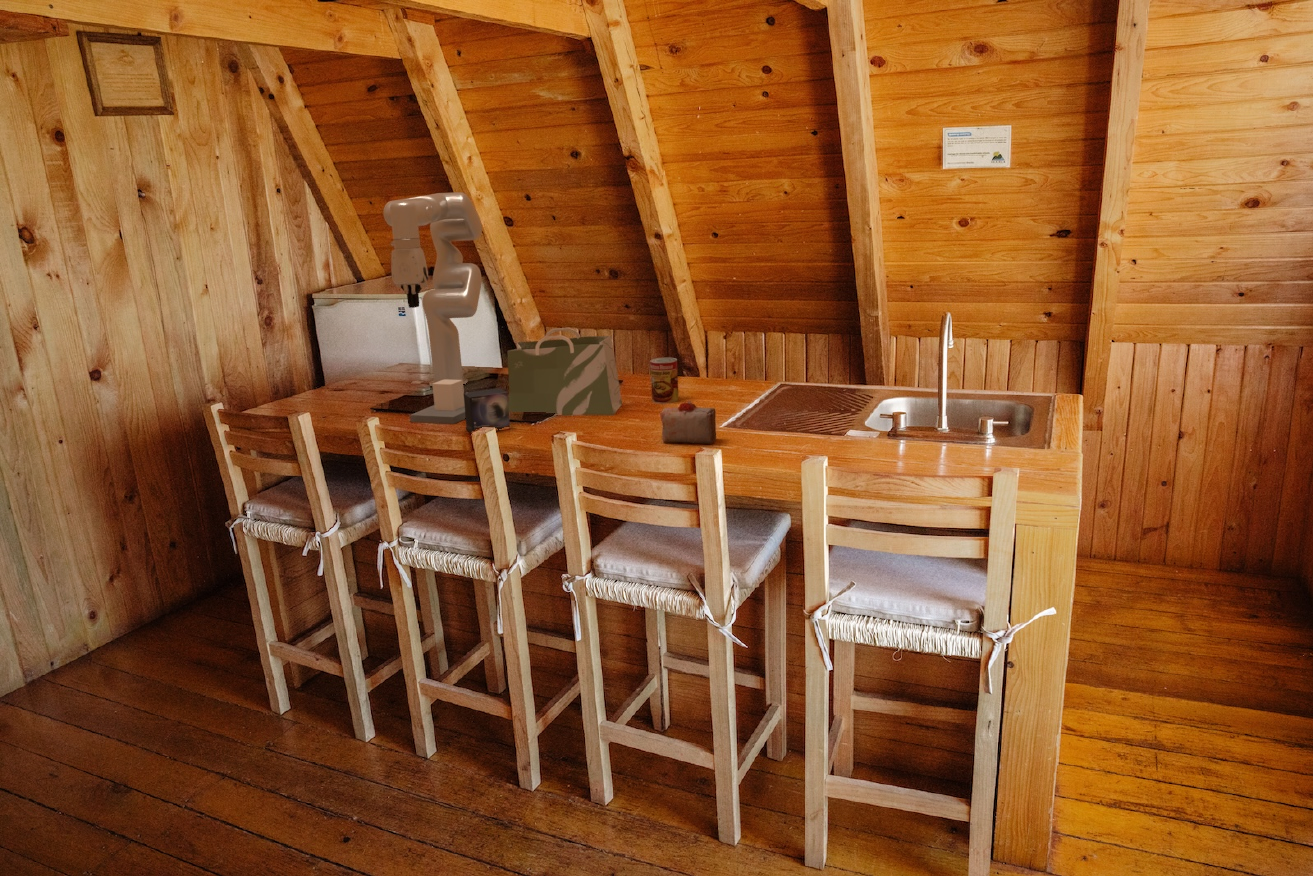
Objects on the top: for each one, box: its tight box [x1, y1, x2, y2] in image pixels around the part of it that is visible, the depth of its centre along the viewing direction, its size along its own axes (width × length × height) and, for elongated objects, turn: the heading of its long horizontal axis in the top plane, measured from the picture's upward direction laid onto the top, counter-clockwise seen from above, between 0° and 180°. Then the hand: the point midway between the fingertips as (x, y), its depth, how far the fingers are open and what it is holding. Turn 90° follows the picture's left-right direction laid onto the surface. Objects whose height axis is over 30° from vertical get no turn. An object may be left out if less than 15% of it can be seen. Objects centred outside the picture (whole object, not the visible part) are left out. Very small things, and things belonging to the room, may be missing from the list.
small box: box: [463, 387, 511, 434], centre depth 253 cm, size 11×6×10 cm, turn 117°
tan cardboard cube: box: [432, 379, 465, 411], centre depth 272 cm, size 6×6×8 cm
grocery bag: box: [507, 327, 623, 417], centre depth 270 cm, size 32×14×23 cm, turn 80°
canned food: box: [649, 357, 679, 404], centre depth 278 cm, size 8×8×12 cm
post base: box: [409, 404, 466, 425], centre depth 272 cm, size 20×14×8 cm
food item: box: [659, 400, 717, 445], centre depth 233 cm, size 14×8×10 cm, turn 75°
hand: (414, 306), depth 285 cm, fingers closed
